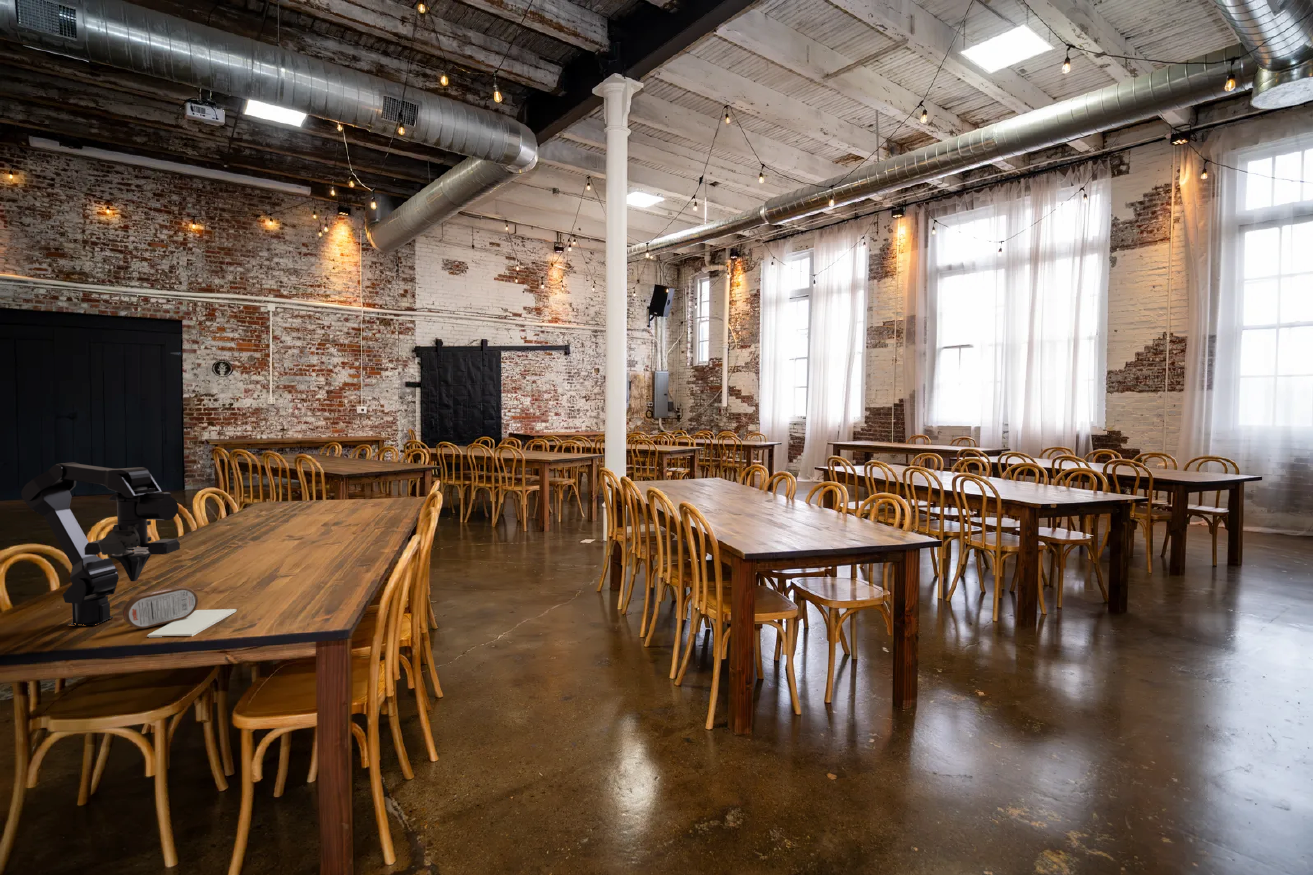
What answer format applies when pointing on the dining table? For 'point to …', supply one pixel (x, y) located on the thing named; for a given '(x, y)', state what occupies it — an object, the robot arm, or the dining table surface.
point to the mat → (192, 623)
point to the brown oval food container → (160, 606)
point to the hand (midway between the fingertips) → (133, 581)
